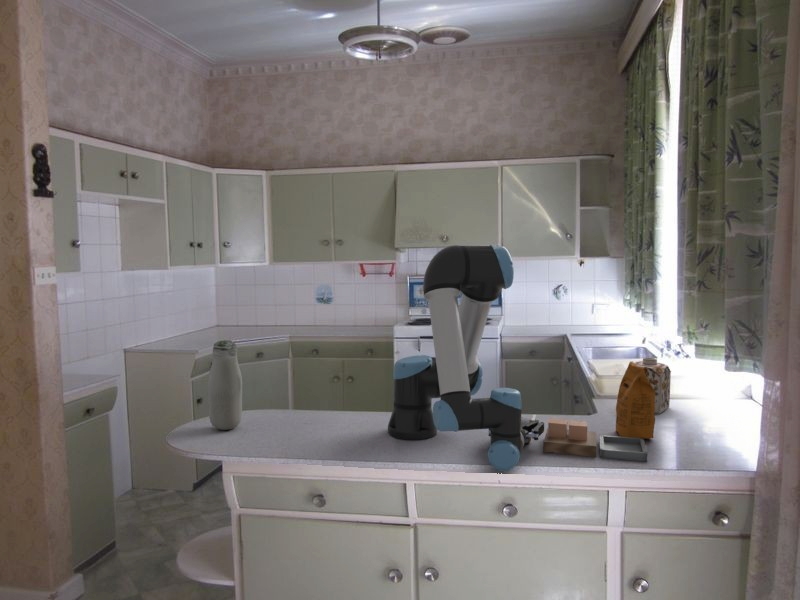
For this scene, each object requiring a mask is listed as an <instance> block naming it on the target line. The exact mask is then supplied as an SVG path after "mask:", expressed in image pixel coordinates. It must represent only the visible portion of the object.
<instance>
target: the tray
mask: <svg viewBox="0 0 800 600" xmlns="http://www.w3.org/2000/svg"><path fill="white" fill-rule="evenodd" d="M599 458H605V459H615V460H625V461H637V462H648V451H647V447H646V443H645V439H643V438H632V437H620V435H619V436H618V435H607V434H606V435H604V434H599Z"/></svg>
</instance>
